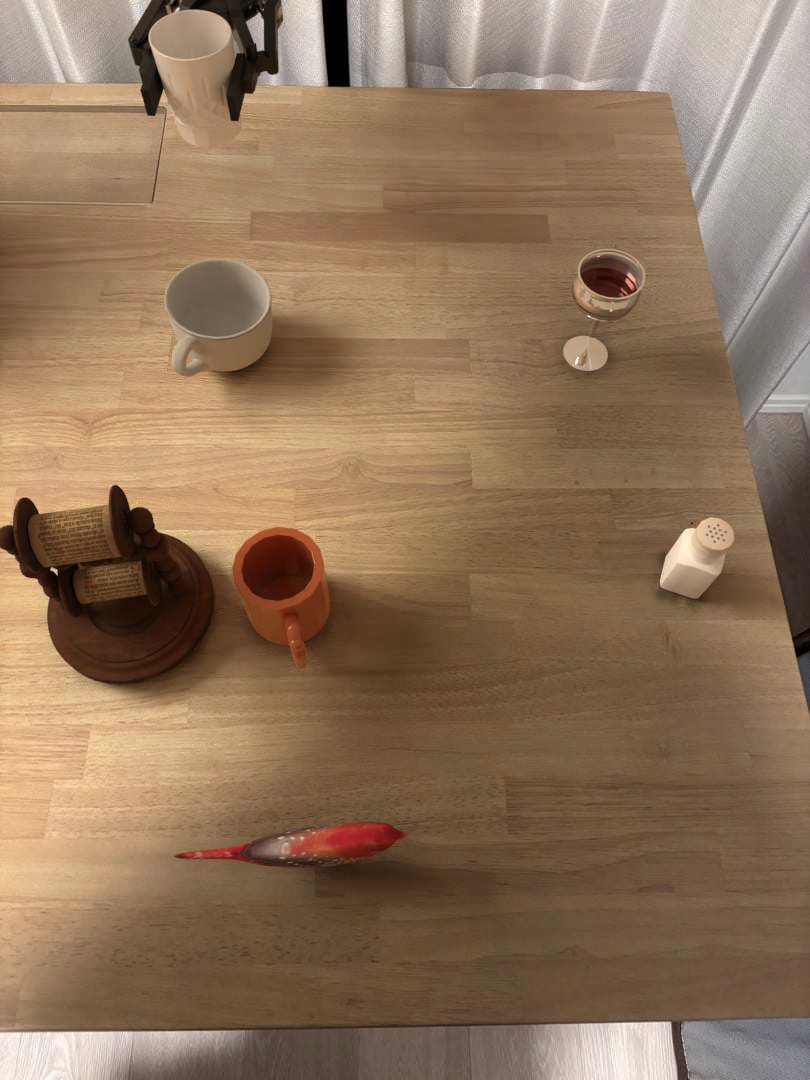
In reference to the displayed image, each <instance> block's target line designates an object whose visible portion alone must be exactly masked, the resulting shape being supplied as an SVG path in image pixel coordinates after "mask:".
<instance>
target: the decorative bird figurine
mask: <svg viewBox="0 0 810 1080" xmlns="http://www.w3.org/2000/svg"><path fill="white" fill-rule="evenodd" d="M409 836H410V833H409V832H406V831H403V830H401V829H397V828H395V827H394V825H392V824H390V823H387V822H382V821H359V822H351V823H350V822H349V823H348V822H347V823H335V824H334V823H333V824H326V825H317V826H310V827H309V826H308V827H302V828H297V829H291V830H286V831H283V832H278V833H275V834H270V835H267V836H263V837H260V838H256V839H253V840H251V841H248V842H246V843H244V844H240V845H236V846H230V847H222V848H212V849H203V850H196V851H195V850H194V851H187V852H181V853H177V854H175V855H174V856H173V857H174V858H176V859H181V860H232V861H234V860H235V861H241V862H245V863H249V864H253V865H257V866H263V867H276V868H277V867H278V868H286V869H287V868H289V869H316V868H327V867H336V866H342V865H347V864H353V863H356V862H359V861H363V860H365V859H369V858H371V857H373V856H375V855H377V854H380V853H382V852H384V851H387V850H388V849H390V848H391V847H392V846H394V845H395V843H396V842H398V840H399V841H400V840H401V839H404V838H406V837H409Z"/></svg>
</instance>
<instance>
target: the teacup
mask: <svg viewBox="0 0 810 1080" xmlns="http://www.w3.org/2000/svg"><path fill="white" fill-rule="evenodd" d="M163 297H164V298H163V303H164V310H165V312H166V314H167V316H168V318H169V321H170V325H171V328H172V332H173V335H174V337H175V340H176V342H177V343H176V344H175V346H174V348H173V351H172V354H171V359H170V362H171V368H172V370H173V371H174V373H176V374H177V375H179V376H181V377H185V378H191V377H194V376H196V375H198V374H199V373H205V372H206V371H208V370H209V371H215V372H234V371H238V370H241V369H244V368H246V367H249V366H251V365H252V364H253V363H256V361H258V360H259V359H260V358H261V357H262V356H263V355H264V353H266V351H267V349H268V348H269V346H270V342H271V340H272V335H273V311H272V300H273V299H272V298H273V297H272V291H271V287H270V285H269V283H268V281H267V280H266V278H265V277H264V276H263V275H262V273H261V272H259V271H258V270H257V268H254V267H253V266H251V265H249V264H248V263H246V262H242V261H239V260H236V259H233V258H225V257H214V258H213V257H211V258H206V259H201V260H198V261H195V262H192V263H190V264H188V265H186V266H184V267H183V268H181V269H180V270H178V271H177V272H176V273H175V274H174V275H173V276H172V278H171V279H170V280H169V282H168V284H167V286H166V288H165V291H164V296H163ZM187 359H189V360H190V362H189V363H188V364H187Z"/></svg>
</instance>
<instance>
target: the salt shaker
mask: <svg viewBox="0 0 810 1080" xmlns="http://www.w3.org/2000/svg"><path fill="white" fill-rule="evenodd" d="M734 542H735V531H734V529H733V528H732V526H731V525H730V524H729V523H728V522H727V521H725V520H723V519H721V518H720V517H708V518H705V519H704V520H701V521H700V523H698V525H697V527H696V528H694V527H688V528H685V529H684V530H683V532H682V533H681V534H680V535H679V537H678V539H677V540H676V541H675V543H674V544H673V546H672V547H671V548H670V550H668V553H667V554H666V555H665V559H664V562H663V566H662V571H661V575H660V579H659V585H660V588H661V589H663V590H665V591H669V592H671V593H675V594H677V595H681V596H684V597H686V598H690V599H695V600H696V599H699V598H700V597H701V596H702V595H703V594H704V592H705V591H706V590H707V589H708V588H709V587H710V586H711V584H713V583H714V581H715V580H716V579H717V578H718V577H719V575H720V574H721V573H722V570H723V568H724V564H725V559H726V556H727V555H726V554H727V552H728V550H729V549H730V548H731V547H732V545H733V543H734Z"/></svg>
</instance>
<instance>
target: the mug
mask: <svg viewBox="0 0 810 1080" xmlns="http://www.w3.org/2000/svg"><path fill="white" fill-rule="evenodd" d="M231 573H232V579H233V583H234V587H235V589H236V592H237V594H238V596H239V598H240V601H241V603H242V607H243V608H244V611H245V612H246V615H247V618H248V620H249V622H250V623H251V625H252V627H253V629H254V630H255V631H256V632H257V634H258V635H259V636H260V637H262V638H263V639H265V640H266V641H268V642H270V643H272V644H276V645H280V646H289V649H290V652H291V655H292V658H293V661H294V664H295V666H296V667H297V668H298V669H305V668H307V667H308V665H309V663H310V661H309V656H308V652H307V647H306V643H305V642H307V641H309V640H311V639H312V638H314V637H315V636H316V635H317V634H318V633H319V632H320V631H321V630H322V629H323V627H324V626H325V625H326V623H327V621H328V618H329V615H330V609H331V597H330V592H329V586H328V585H329V584H328V581H327V573H326V568H325V563H324V558H323V555H322V551H321V549H320V547H319V546H318V544H317V543H316V542H315V541H314V540H313V538H312V537H311V536H310V535H308V534H306V533H304V532H302V531H300V530H298V529H297V528H292V527H284V526H274V527H271V528H266V529H262V530H259V531H258V532H257V533H255V534H253V535H252V536H250V537H248V538H247V539H246V540H245V541H244V542H243V543H242V545H241V546H240V548H239V549H238V550H237V551H236V553H235V555H234V560H233V563H232V568H231Z"/></svg>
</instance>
